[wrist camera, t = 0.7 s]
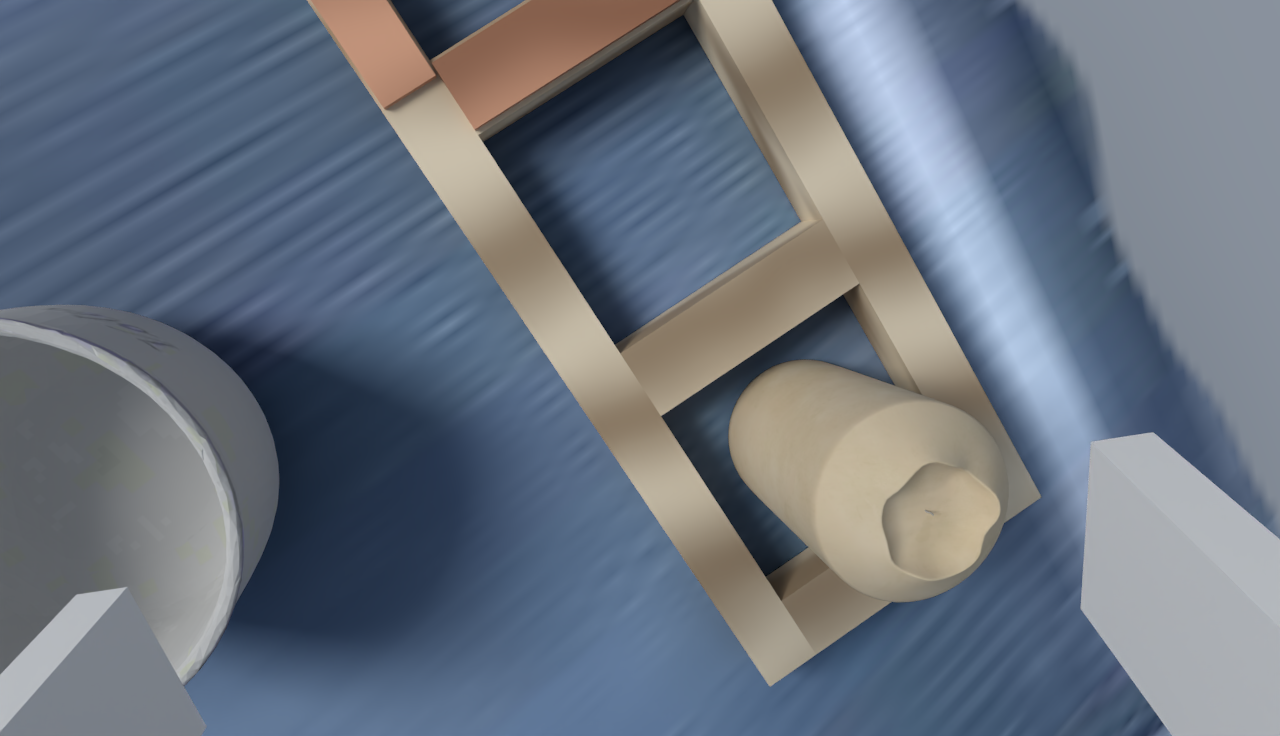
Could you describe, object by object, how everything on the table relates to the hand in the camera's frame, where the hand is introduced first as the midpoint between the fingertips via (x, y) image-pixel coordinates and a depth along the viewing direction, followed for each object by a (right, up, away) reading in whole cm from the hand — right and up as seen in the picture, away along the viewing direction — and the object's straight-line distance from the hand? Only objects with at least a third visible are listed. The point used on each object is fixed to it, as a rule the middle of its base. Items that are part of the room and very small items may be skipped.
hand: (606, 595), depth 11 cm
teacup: (-17, 0, +15) cm, 23 cm away
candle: (+6, +1, +19) cm, 20 cm away
